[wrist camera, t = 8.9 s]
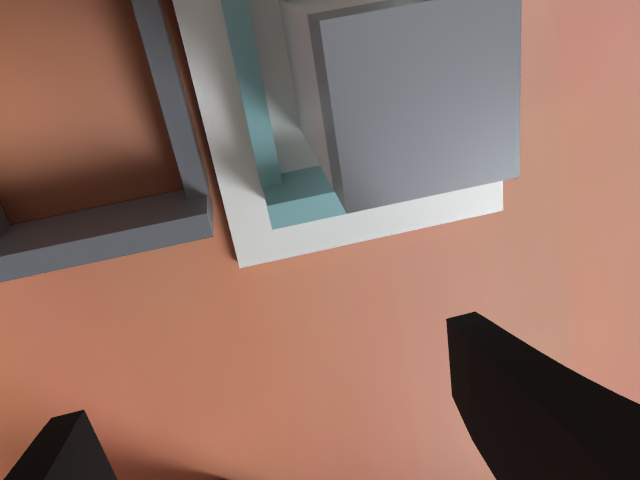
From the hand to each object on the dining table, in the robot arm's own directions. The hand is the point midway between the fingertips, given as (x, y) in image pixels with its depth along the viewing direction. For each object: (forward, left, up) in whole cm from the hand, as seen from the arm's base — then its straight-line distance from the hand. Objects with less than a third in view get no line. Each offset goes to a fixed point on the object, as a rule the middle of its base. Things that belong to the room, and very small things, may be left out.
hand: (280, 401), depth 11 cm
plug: (+4, +5, -9) cm, 11 cm away
